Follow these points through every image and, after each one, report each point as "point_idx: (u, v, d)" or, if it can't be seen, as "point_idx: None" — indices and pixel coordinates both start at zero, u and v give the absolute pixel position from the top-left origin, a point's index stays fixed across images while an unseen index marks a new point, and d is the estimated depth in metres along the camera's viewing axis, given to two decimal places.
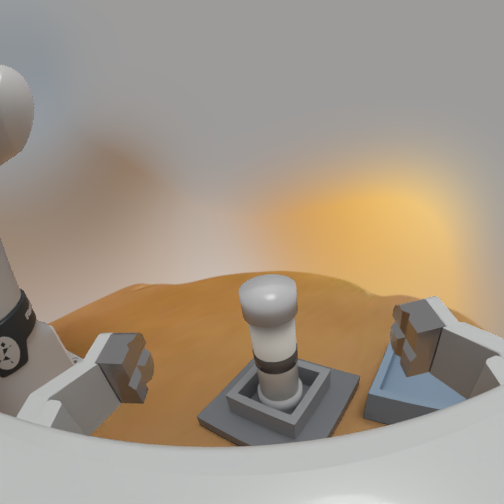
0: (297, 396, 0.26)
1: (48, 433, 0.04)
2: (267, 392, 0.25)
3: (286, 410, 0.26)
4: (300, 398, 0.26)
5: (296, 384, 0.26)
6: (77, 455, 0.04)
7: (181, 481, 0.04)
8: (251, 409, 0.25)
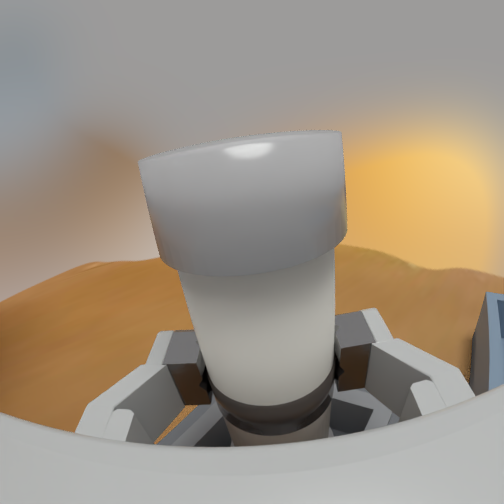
0: None
1: (48, 433, 0.04)
2: None
3: None
4: None
5: None
6: (77, 455, 0.04)
7: (181, 481, 0.04)
8: None
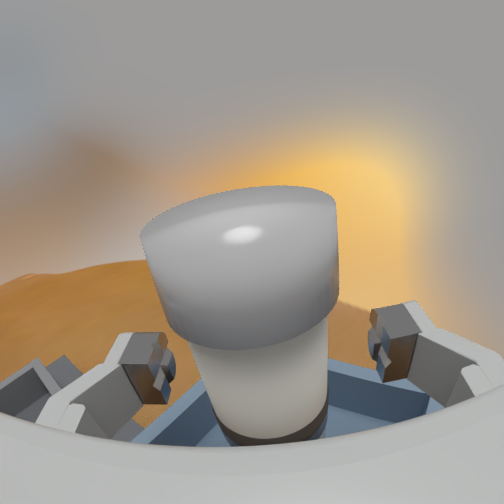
0: None
1: (48, 433, 0.04)
2: None
3: None
4: None
5: None
6: (77, 455, 0.04)
7: (181, 481, 0.04)
8: None
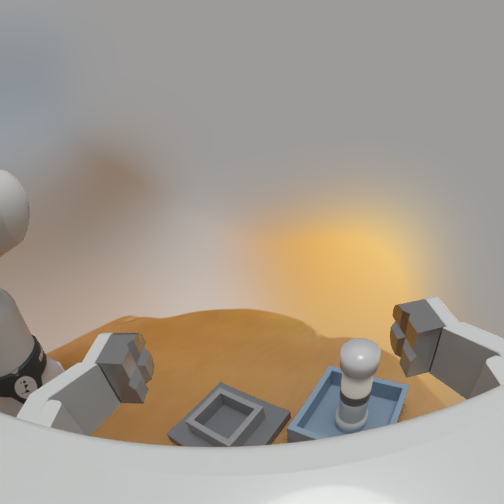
0: (365, 419, 0.32)
1: (48, 433, 0.04)
2: (346, 418, 0.32)
3: (357, 429, 0.32)
4: (366, 419, 0.33)
5: (366, 410, 0.32)
6: (77, 455, 0.04)
7: (181, 481, 0.04)
8: (202, 432, 0.33)
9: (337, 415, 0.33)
